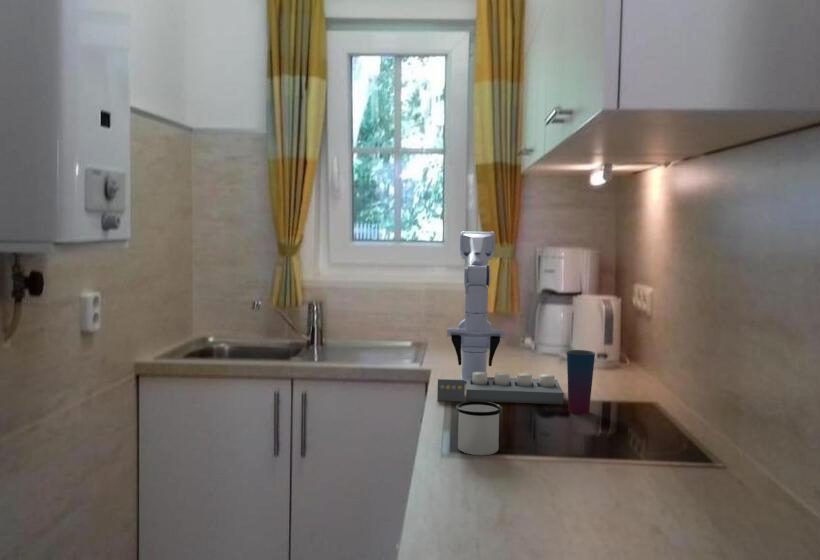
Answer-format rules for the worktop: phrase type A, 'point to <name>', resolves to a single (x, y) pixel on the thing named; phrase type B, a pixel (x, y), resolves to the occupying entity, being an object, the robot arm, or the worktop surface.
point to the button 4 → (546, 380)
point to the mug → (478, 427)
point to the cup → (579, 380)
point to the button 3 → (524, 379)
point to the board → (514, 392)
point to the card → (451, 389)
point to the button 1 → (479, 378)
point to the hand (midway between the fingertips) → (474, 364)
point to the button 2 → (502, 379)
